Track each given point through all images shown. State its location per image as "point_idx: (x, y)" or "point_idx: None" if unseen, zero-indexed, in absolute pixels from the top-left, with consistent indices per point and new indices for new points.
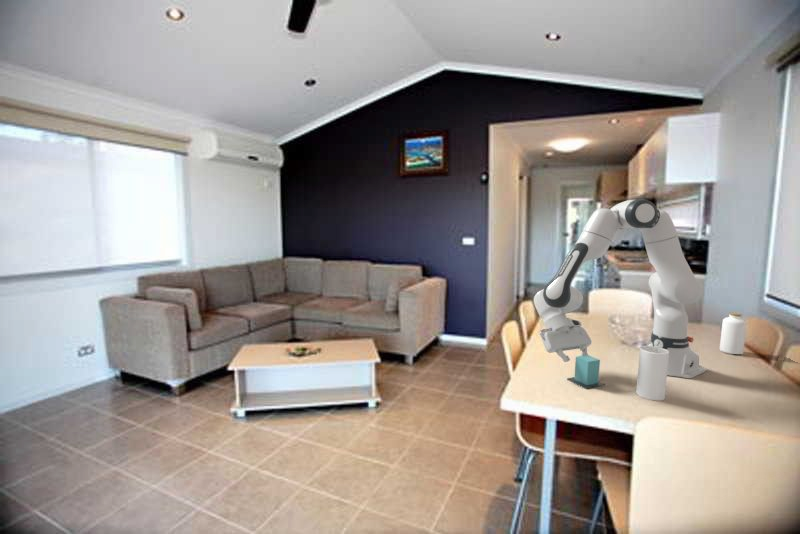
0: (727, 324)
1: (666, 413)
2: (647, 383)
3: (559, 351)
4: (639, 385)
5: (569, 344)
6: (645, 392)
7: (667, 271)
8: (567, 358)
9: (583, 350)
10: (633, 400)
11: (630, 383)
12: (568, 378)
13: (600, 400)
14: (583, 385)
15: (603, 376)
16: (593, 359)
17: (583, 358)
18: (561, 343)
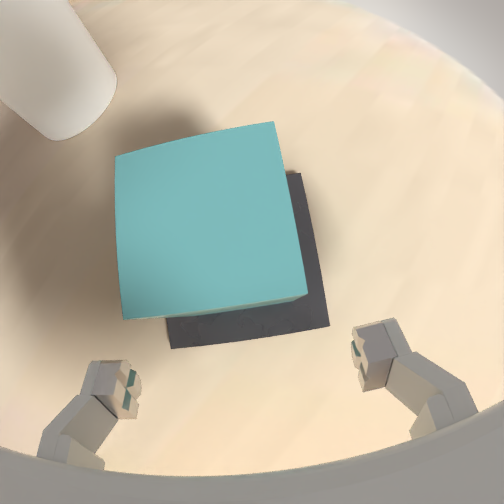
0: None
1: (159, 4)
2: (89, 34)
3: (464, 399)
4: (94, 71)
5: (298, 498)
6: (107, 61)
7: None
8: (383, 331)
9: (84, 442)
10: (172, 61)
11: (40, 209)
12: (322, 321)
13: (311, 72)
14: (298, 203)
15: (80, 316)
16: (165, 172)
17: (254, 217)
18: (456, 487)
